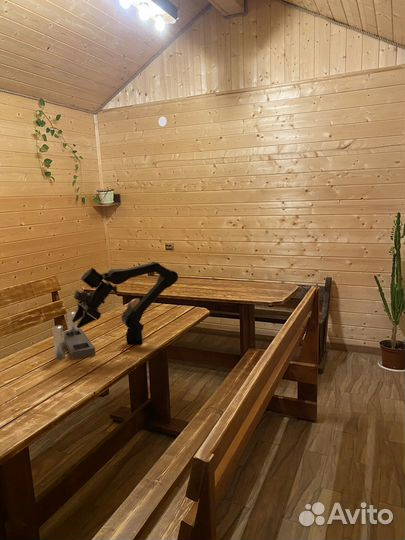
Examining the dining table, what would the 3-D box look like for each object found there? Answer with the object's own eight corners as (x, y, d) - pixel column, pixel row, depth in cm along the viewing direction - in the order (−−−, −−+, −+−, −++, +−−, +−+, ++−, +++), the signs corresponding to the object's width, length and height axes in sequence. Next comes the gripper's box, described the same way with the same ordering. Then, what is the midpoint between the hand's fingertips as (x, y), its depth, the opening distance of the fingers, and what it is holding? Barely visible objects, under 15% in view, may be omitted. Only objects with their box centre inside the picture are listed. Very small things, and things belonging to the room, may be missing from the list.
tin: (132, 318, 208) (131, 303, 207) (127, 318, 209) (125, 303, 207) (142, 310, 223) (141, 296, 221) (137, 310, 223) (136, 296, 222)
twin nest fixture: (81, 334, 186) (81, 328, 185) (95, 354, 162) (94, 347, 161) (61, 338, 182) (61, 332, 181) (73, 359, 157) (72, 352, 157)
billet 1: (67, 355, 162) (64, 325, 160) (64, 359, 158) (61, 328, 156) (57, 355, 162) (54, 325, 159) (54, 359, 158) (50, 328, 156)
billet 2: (79, 338, 182) (76, 311, 179) (77, 341, 178) (74, 313, 175) (70, 338, 181) (68, 311, 179) (68, 341, 177) (65, 314, 175)
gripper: (80, 279, 168) (56, 307, 165) (90, 287, 152) (63, 319, 149) (100, 294, 173) (76, 322, 170) (111, 304, 157) (85, 335, 154)
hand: (75, 324), depth 161 cm, fingers open, 9 cm apart
